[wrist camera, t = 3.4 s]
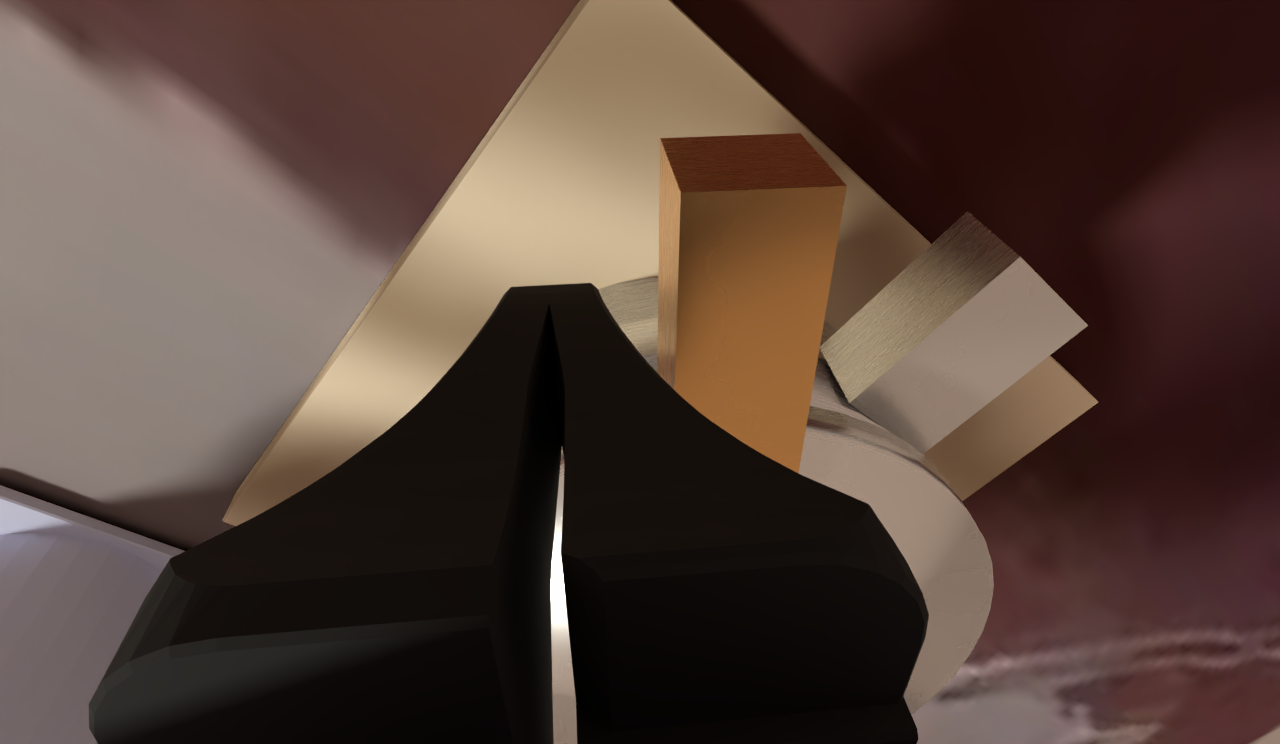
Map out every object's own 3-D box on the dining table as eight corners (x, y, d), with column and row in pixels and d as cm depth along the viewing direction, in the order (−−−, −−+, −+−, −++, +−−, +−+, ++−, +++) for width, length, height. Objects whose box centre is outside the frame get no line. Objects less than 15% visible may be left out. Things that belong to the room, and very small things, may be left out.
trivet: (685, 671, 29) (689, 699, 28) (236, 490, 22) (221, 520, 21) (1074, 378, 22) (1098, 402, 21) (616, -52, 14) (620, -45, 13)
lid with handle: (905, 734, 21) (944, 829, 19) (458, 780, 20) (448, 886, 18) (1151, 120, 11) (1293, 183, 9) (266, 152, 10) (191, 231, 8)
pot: (683, 635, 26) (708, 780, 22) (371, 500, 21) (328, 658, 17) (1076, 326, 20) (1213, 451, 16) (770, 21, 14) (856, 87, 10)
